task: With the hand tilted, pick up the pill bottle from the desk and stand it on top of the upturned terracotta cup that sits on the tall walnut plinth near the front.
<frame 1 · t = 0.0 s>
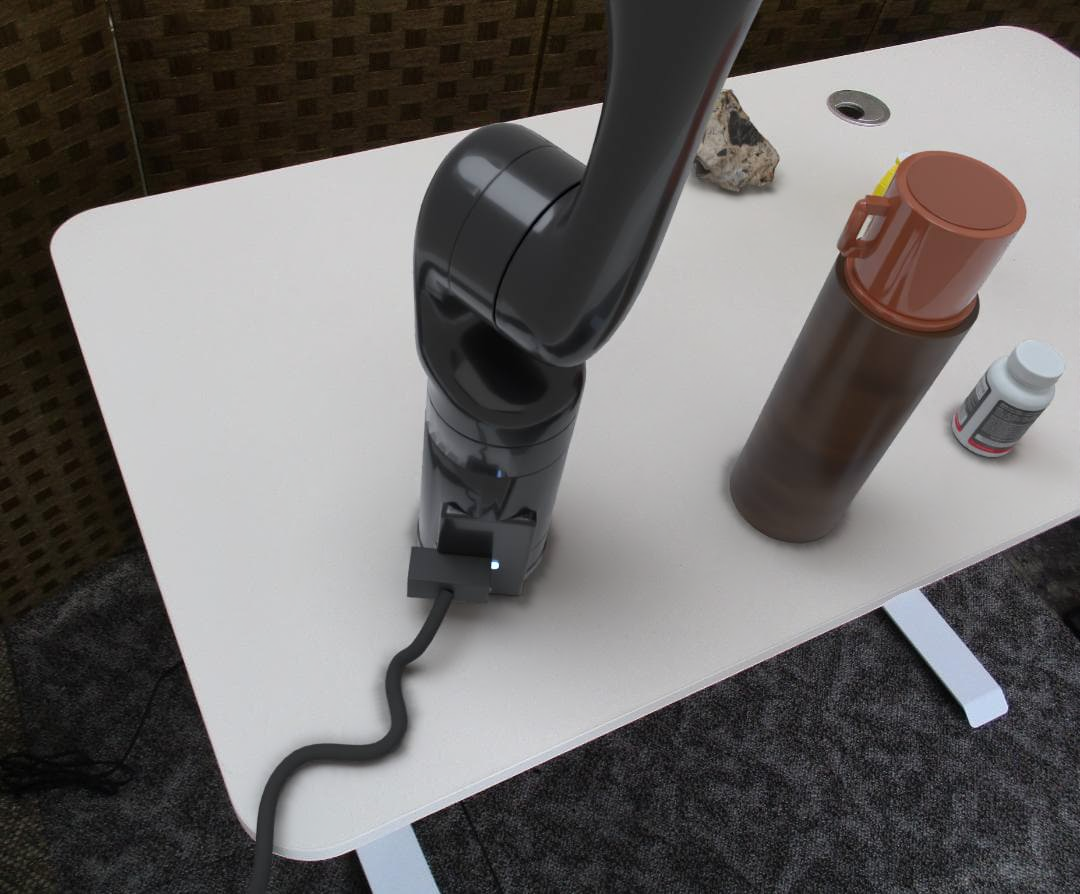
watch: (885, 209, 103), on the table
pill bottle: (979, 435, 85), on the table
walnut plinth: (785, 494, 79), on the table
upturned cup: (907, 283, 60), resting on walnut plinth
rock: (723, 177, 102), on the table
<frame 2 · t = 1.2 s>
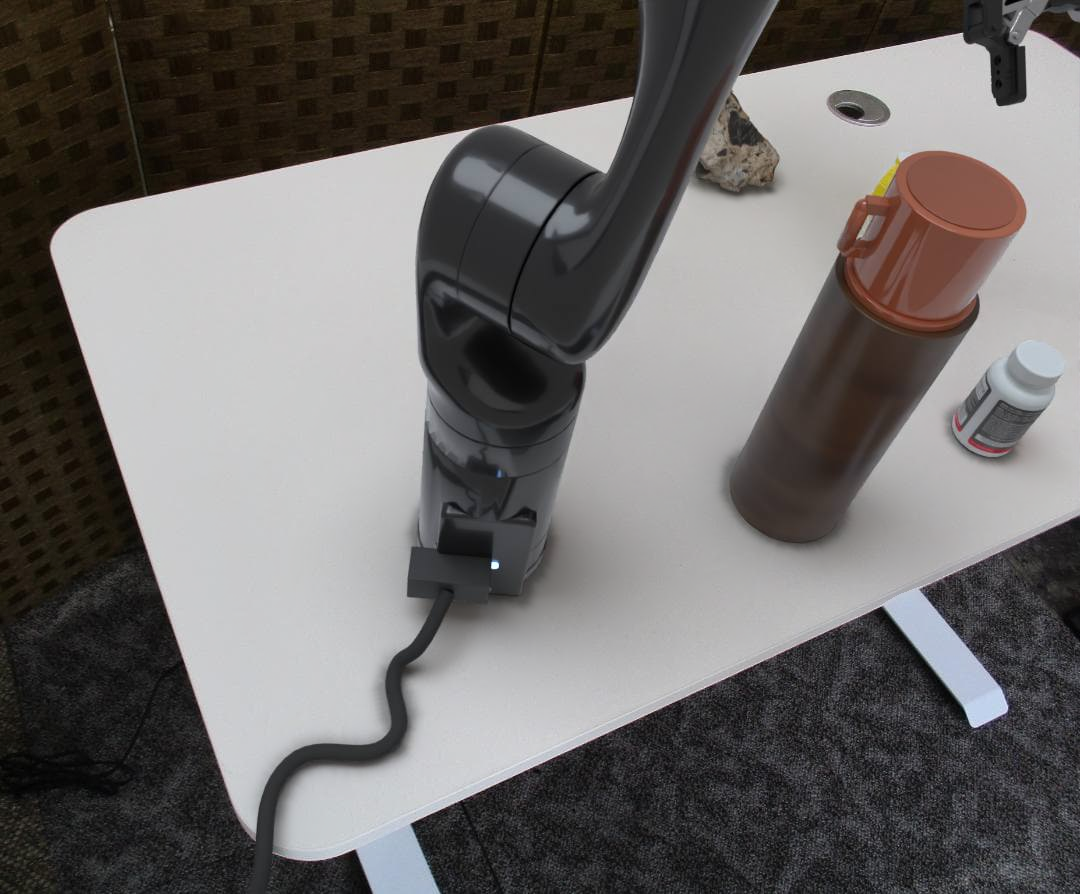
hand: (1059, 99, 72), 25 cm above the table, tool tilted 45°, fingers open, 8 cm apart
nothing on the table moved.
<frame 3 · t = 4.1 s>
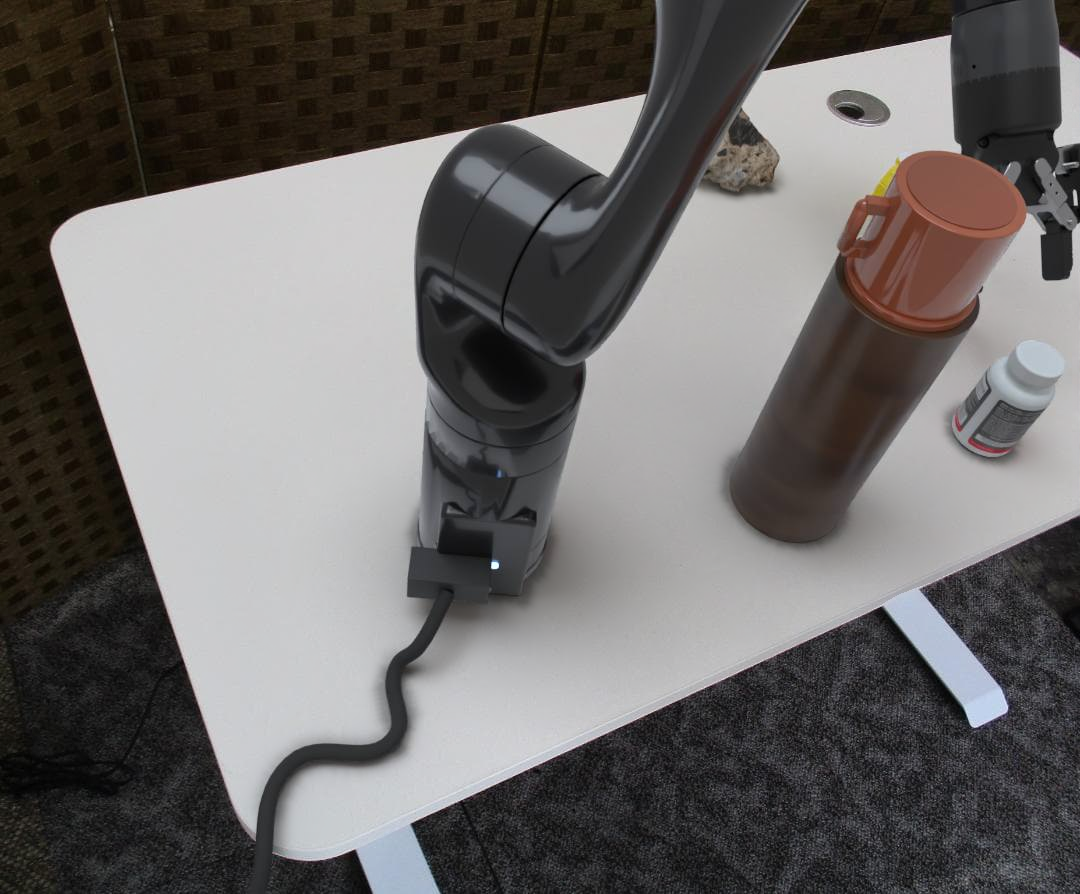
hand: (1013, 286, 79), 12 cm above the table, tool tilted 45°, fingers open, 8 cm apart
nothing on the table moved.
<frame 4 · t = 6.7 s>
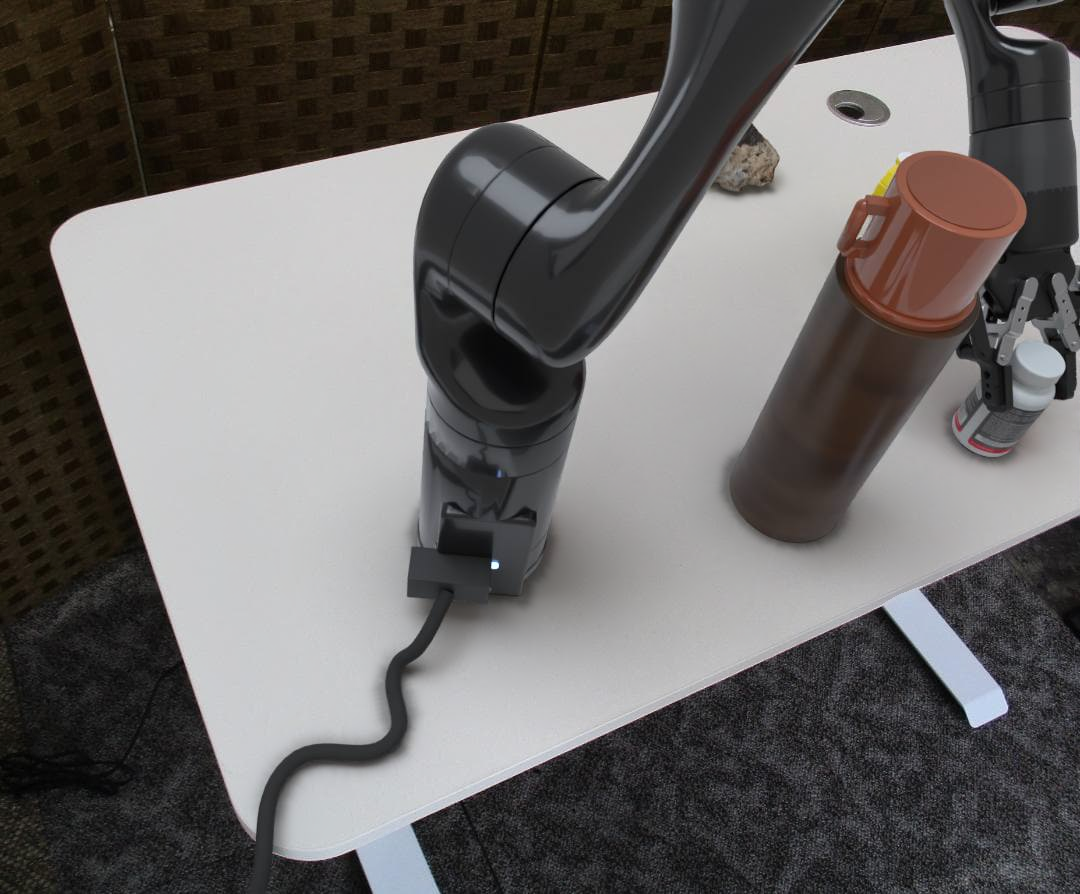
hand: (1030, 404, 79), 6 cm above the table, tool tilted 45°, fingers closed on pill bottle, 5 cm apart
pill bottle: (979, 435, 85), on the table, touching gripper
everything else where it was.
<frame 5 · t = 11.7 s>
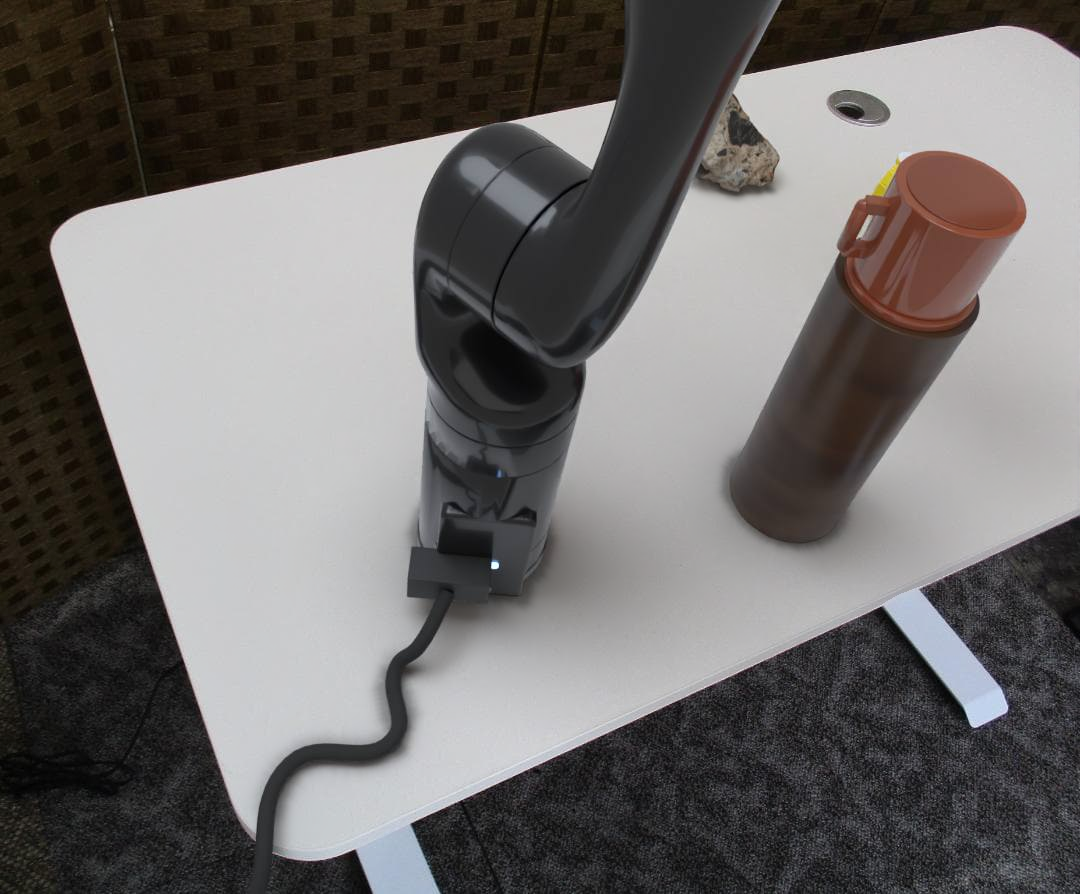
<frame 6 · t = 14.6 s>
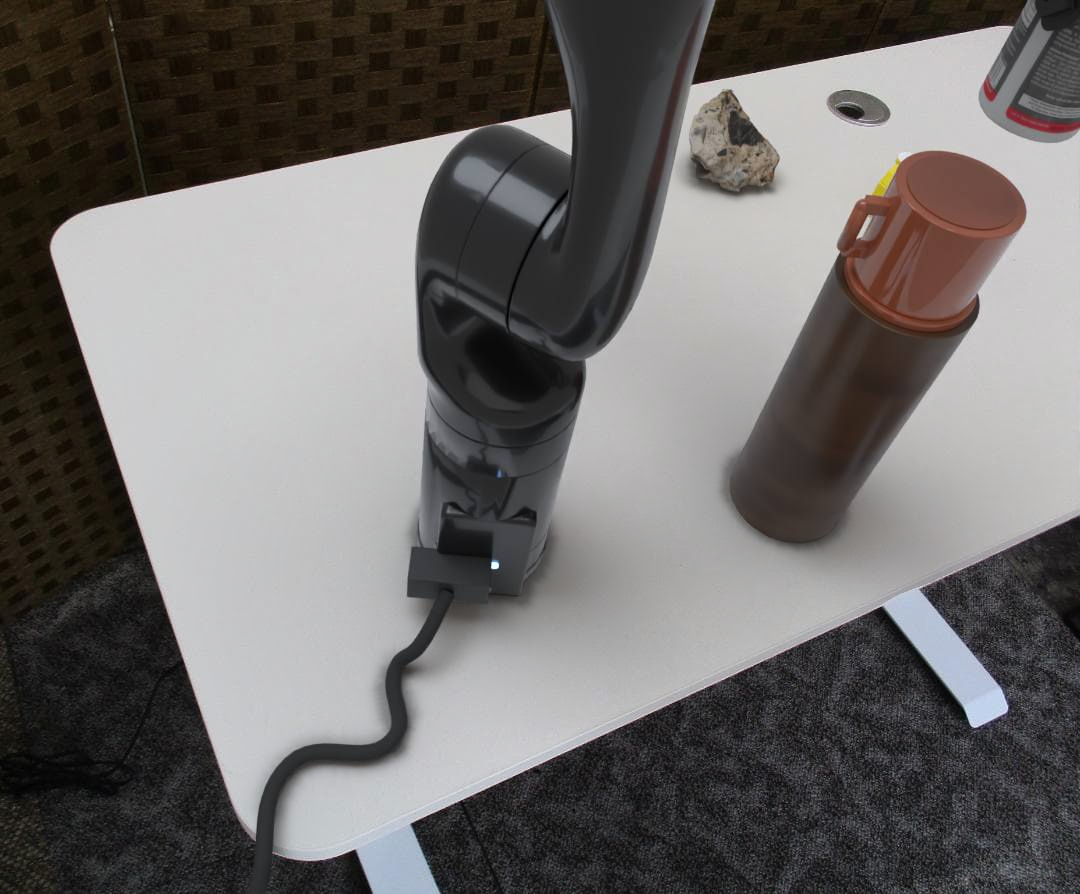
pill bottle: (1023, 117, 52), point 34 cm above the table, touching gripper
everything else where it was.
when the fingers open (36 cm above the table, at t = 16.7 s): pill bottle stays where it is, resting on upturned cup.
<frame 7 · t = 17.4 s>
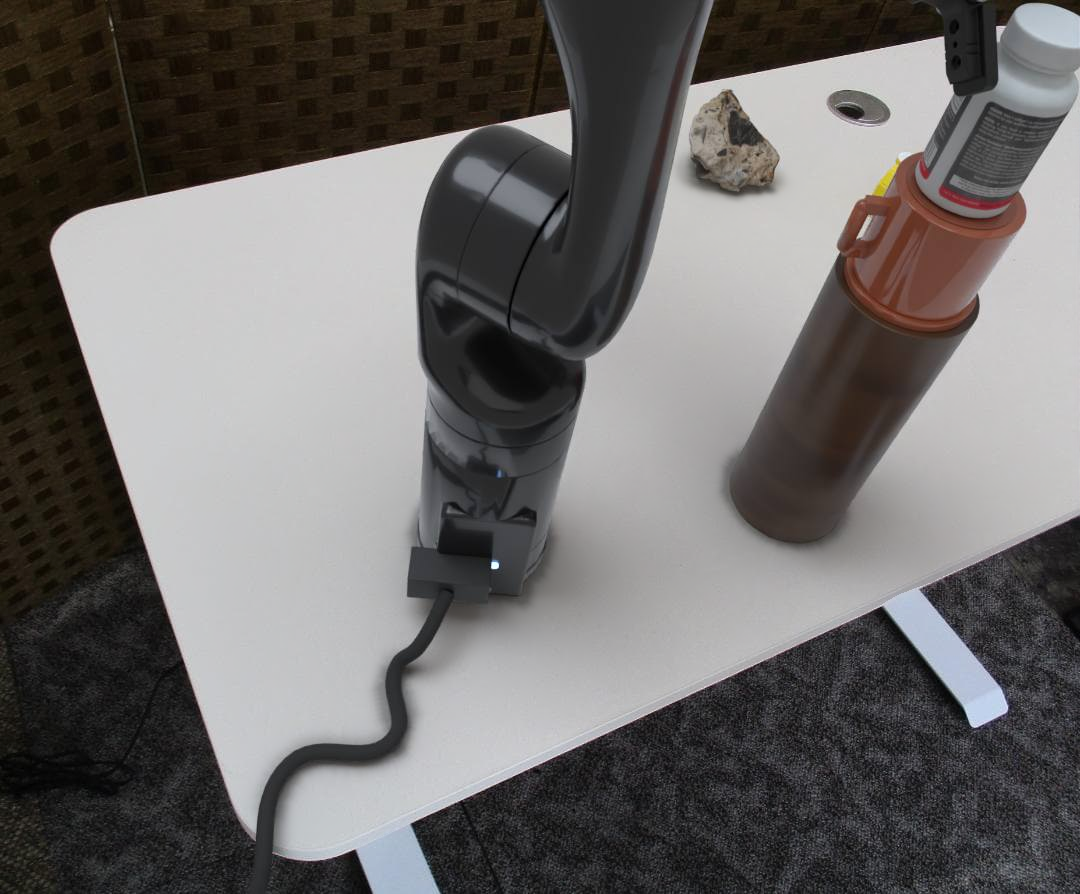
hand: (1048, 87, 48), 37 cm above the table, tool tilted 45°, fingers open, 8 cm apart
pill bottle: (958, 192, 55), point 30 cm above the table, touching upturned cup
everything else where it was.
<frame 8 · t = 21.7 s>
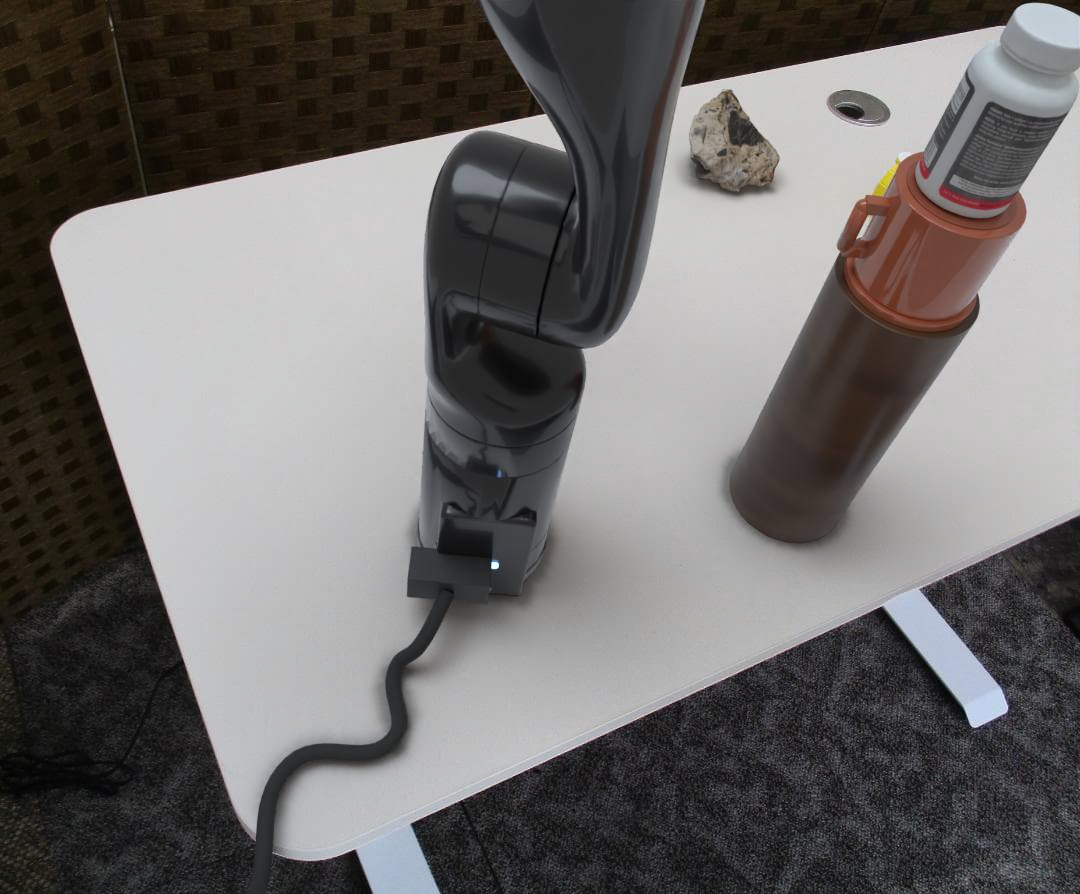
nothing on the table moved.
at the end: pill bottle 0.1 cm off-centre on the upturned cup, point 6.9 cm above the upturned cup's base; pill bottle tilted 0°; the gripper is holding nothing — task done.
